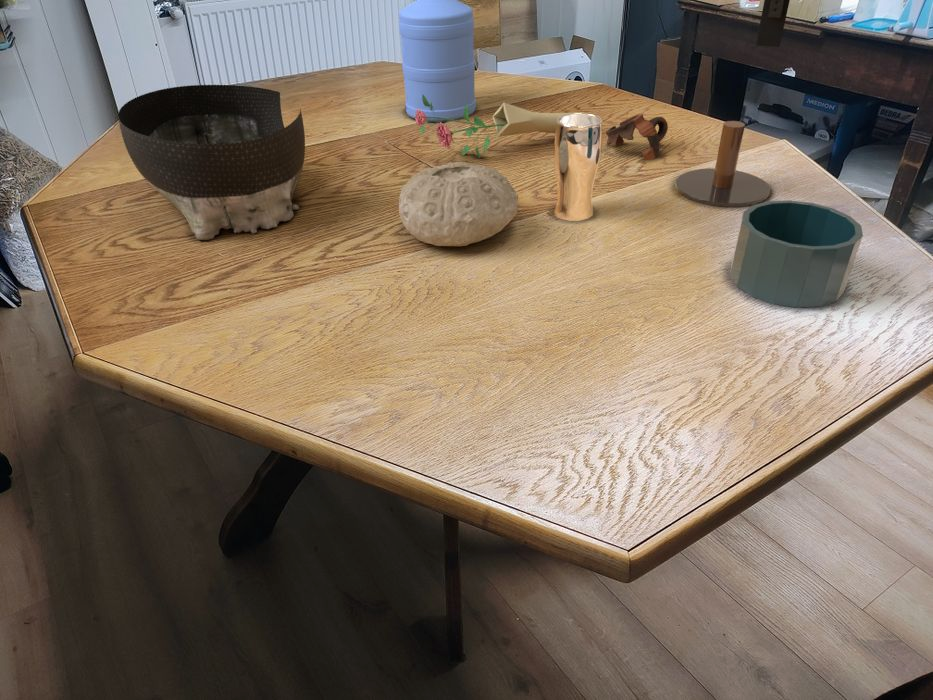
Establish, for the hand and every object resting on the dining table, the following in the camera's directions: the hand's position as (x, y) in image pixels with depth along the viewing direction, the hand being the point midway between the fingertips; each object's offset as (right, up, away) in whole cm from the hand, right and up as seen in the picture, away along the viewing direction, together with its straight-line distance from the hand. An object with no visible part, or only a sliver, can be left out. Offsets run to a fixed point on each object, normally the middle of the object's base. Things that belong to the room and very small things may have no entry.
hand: (769, 34), depth 89 cm
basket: (-80, -16, +28) cm, 86 cm away
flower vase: (-32, -3, +43) cm, 53 cm away
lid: (+3, -14, +24) cm, 28 cm away
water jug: (-45, +12, +64) cm, 80 cm away
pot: (+2, -32, 0) cm, 32 cm away
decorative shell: (-40, -23, +15) cm, 49 cm away
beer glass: (-23, -20, +19) cm, 36 cm away
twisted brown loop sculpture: (-7, -4, +40) cm, 41 cm away
